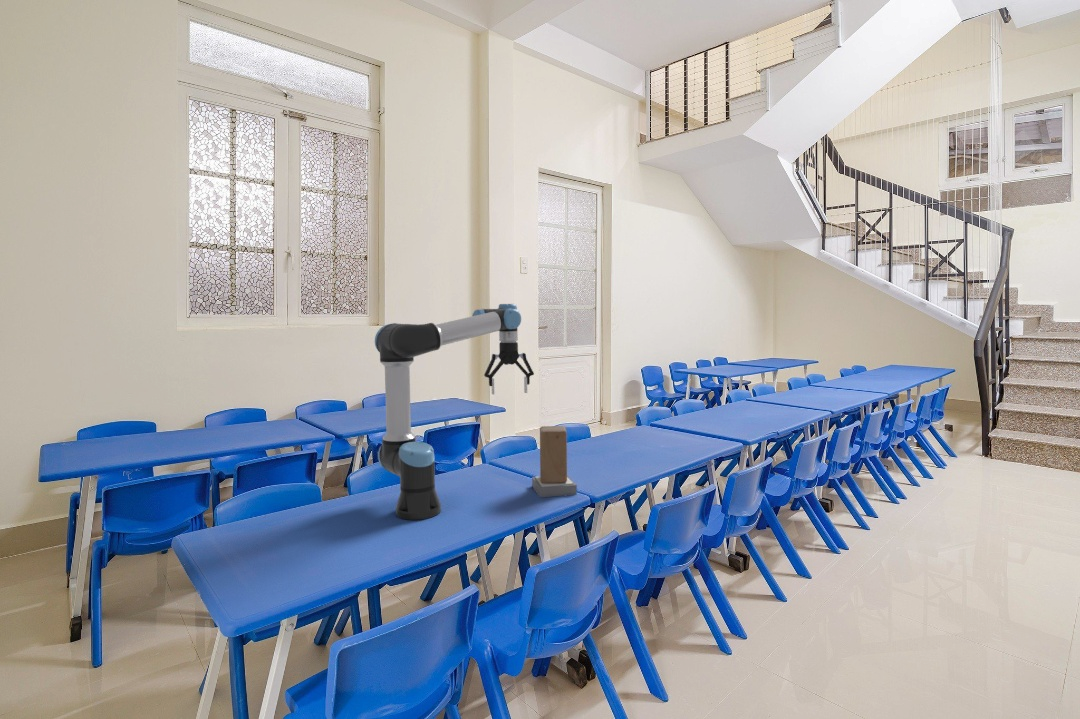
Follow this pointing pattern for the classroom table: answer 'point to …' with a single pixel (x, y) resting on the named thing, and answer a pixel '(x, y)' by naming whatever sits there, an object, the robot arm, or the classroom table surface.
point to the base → (554, 488)
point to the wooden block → (553, 454)
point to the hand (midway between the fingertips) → (509, 393)
